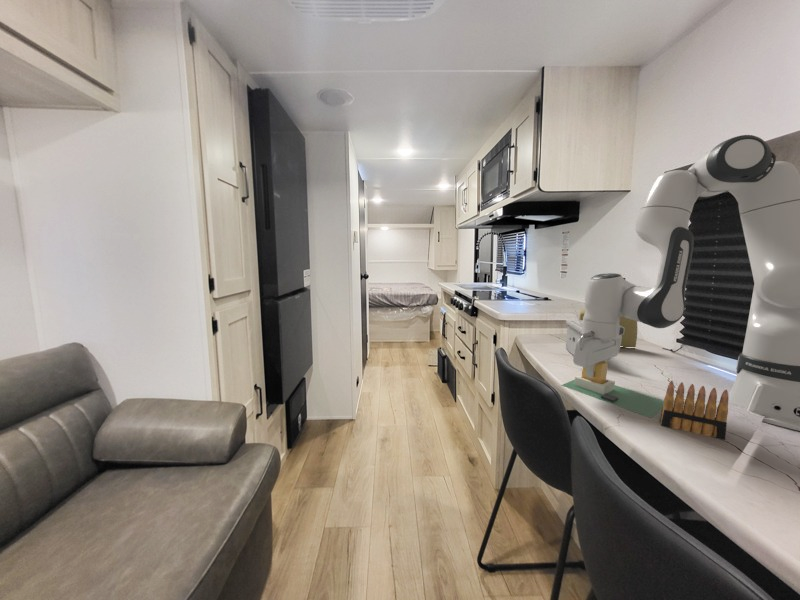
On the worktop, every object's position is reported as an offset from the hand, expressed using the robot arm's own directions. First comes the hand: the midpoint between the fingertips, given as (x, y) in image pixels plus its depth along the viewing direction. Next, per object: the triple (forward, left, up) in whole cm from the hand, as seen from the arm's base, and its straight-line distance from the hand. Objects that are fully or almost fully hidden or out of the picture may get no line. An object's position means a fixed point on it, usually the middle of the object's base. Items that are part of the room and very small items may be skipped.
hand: (594, 375), depth 91 cm
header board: (-5, 0, -5) cm, 7 cm away
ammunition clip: (-23, +6, -5) cm, 24 cm away
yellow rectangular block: (0, 0, -4) cm, 4 cm away
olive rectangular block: (+21, -56, -5) cm, 60 cm away
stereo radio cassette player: (+18, -30, -5) cm, 35 cm away
